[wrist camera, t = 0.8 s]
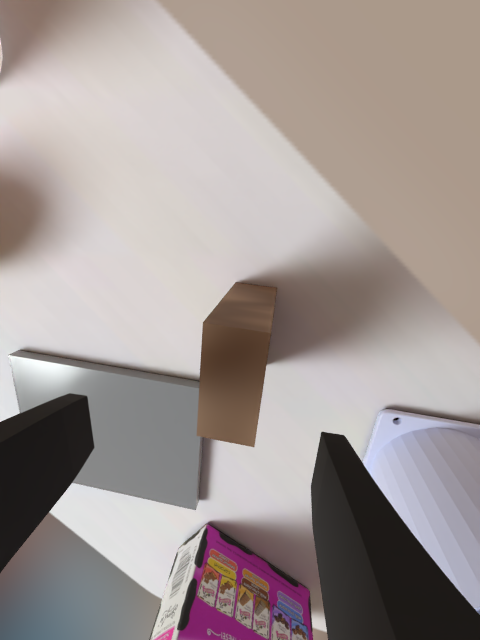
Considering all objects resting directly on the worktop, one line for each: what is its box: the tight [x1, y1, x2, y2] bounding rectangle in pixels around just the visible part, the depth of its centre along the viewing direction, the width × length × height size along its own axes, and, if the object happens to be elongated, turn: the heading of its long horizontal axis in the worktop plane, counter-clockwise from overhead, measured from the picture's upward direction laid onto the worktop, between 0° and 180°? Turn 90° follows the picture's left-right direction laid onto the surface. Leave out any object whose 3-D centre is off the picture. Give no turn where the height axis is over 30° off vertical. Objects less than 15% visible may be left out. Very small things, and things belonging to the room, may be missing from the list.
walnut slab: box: [196, 282, 277, 447], centre depth 14 cm, size 2×5×7 cm, turn 174°
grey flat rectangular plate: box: [8, 350, 203, 510], centre depth 21 cm, size 14×11×1 cm
